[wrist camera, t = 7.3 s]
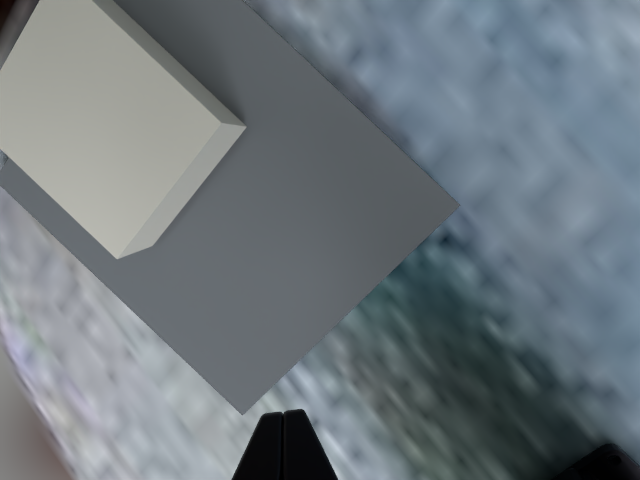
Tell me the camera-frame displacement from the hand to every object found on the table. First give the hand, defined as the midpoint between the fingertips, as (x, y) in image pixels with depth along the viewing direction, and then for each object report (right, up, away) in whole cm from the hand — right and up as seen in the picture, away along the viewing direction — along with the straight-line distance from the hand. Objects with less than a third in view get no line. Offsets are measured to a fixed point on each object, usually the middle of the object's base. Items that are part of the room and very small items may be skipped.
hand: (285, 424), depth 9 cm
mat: (-4, +6, +11) cm, 13 cm away
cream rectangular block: (-5, +6, +9) cm, 12 cm away
